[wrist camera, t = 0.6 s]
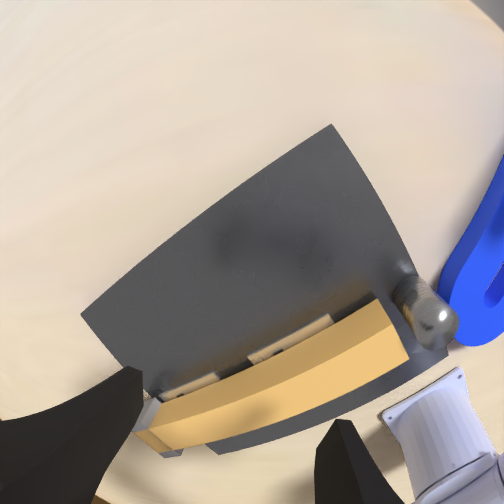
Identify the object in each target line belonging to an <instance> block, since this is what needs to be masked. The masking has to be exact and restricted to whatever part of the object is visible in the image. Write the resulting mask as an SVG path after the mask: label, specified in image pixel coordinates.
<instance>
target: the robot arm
mask: <svg viewBox="0 0 504 504" xmlns="http://www.w3.org/2000/svg"><path fill="white" fill-rule="evenodd" d="M143 406H144V401H143V373H142V371H140V370H138V369H135V368H133V367H130V366H126V367H124V368H123V369H121V370H120V371H118V372H117V373H115V374H114V375H112V376H110V377H109V378H107V379H106V380H104V381H103V382H101V383H99V384H98V385H96V386H94V387H92V388H91V389H89V390H87V391H86V392H84V393H82V394H80V395H78V396H76V397H74V398H72V399H70V400H68V401H66V402H64V403H62V404H60V405H57V406H55V407H53V408H50V409H47V410H45V411H42V412H39V413H36V414H32V415H29V416H25V417H21V418H17V419H11V420H5V421H0V504H91V502H92V500H93V497H94V495H95V493H96V490H97V488H98V486H99V484H100V482H101V480H102V477H103V475H104V473H105V471H106V470H107V468H108V466H109V465H110V463H111V461H112V460H113V458H114V457H115V455H116V454H117V452H118V451H119V449H120V448H121V446H122V445H123V443H124V442H125V440H126V438H127V437H128V435H129V434H130V432H131V431H132V429H133V427H134V426H135V424H136V422H137V419H138V417H139V415H140V413H141V411H142V409H143ZM382 418H383V419H384V421H385V422H386V424H387V425H388V427H389V428H390V430H391V431H392V433H393V434H394V436H395V437H396V439H397V440H398V442H399V443H400V445H401V447H402V451H403V454H404V458H405V461H406V465H407V469H408V473H409V477H410V481H411V485H412V489H413V493H414V498H415V502H413V503H412V504H504V453H503V454H501V455H498V454H497V451H496V449H495V447H494V445H493V443H492V441H491V439H490V438H489V436H488V434H487V432H486V430H485V428H484V426H483V424H482V422H481V421H480V419H479V417H478V415H477V413H476V412H475V410H474V408H473V406H472V405H471V403H470V399H469V394H468V389H467V385H466V380H465V376H464V372H463V369H462V368H461V367H457V368H455V369H454V370H452V371H451V372H450V373H448V374H447V375H445V376H444V377H442V378H440V379H439V380H437V381H436V382H434V383H433V384H431V385H429V386H428V387H426V388H425V389H423V390H421V391H420V392H418V393H416V394H414V395H413V396H411V397H409V398H407V399H406V400H404V401H402V402H400V403H398V404H396V405H394V406H393V407H391V408H389V409H387V410H385V411H384V412H383V413H382ZM314 483H315V504H405V503H404V502H403V501H402V500H401V499H400V497H399V496H398V495H397V494H396V493H395V492H394V490H393V489H392V488H391V486H390V485H389V484H388V482H387V481H386V479H385V478H384V476H383V475H382V473H381V472H380V470H379V469H378V467H377V465H376V464H375V462H374V460H373V459H372V457H371V455H370V454H369V452H368V450H367V448H366V447H365V445H364V443H363V441H362V439H361V438H360V436H359V434H358V432H357V430H356V428H355V427H354V425H353V423H352V421H351V420H343V419H335V421H334V423H333V424H332V426H331V427H330V429H329V430H328V432H327V433H326V435H325V437H324V438H323V440H322V441H321V442H320V444H319V445H318V447H317V448H316V457H315V468H314Z"/></svg>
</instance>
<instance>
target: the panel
mask: <svg viewBox="0 0 504 504" xmlns="http://www.w3.org/2000/svg"><path fill="white" fill-rule="evenodd" d="M376 299H378V300H379V302H380V304H381V305H382V307H383V309H384V310H385V312H386V314H387V315H388V317H389V319H390V321H391V322H392V324H393V326H394V328H395V330H396V332H397V334H398V336H399V338H400V340H401V342H402V344H403V346H404V348H405V350H406V353H407V355H408V357H409V360H407V361H405V362H404V363H402V364H400V365H399V366H397V367H395V368H393V369H392V370H390V371H388V372H386V373H385V374H383V375H381V376H379V377H377V378H375V379H374V380H372V381H370V382H368V383H366V384H364V385H362V386H360V387H358V388H356V389H354V390H352V391H350V392H348V393H346V394H344V395H342V396H340V397H337V398H335V399H333V400H331V401H329V402H326V403H324V404H322V405H319V406H317V407H315V408H312V409H310V410H308V411H305V412H303V413H300V414H298V415H295V416H292V417H290V418H287V419H284V420H282V421H279V422H276V423H273V424H270V425H267V426H264V427H261V428H258V429H255V430H252V431H249V432H246V433H242V434H239V435H236V436H232V437H228V438H225V439H221V440H217V441H213V442H209V443H205V445H207V446H208V447H209V448H210V449H212V450H213V451H214V452H216V453H217V454H218V455H221V454H225V453H229V452H234V451H238V450H242V449H245V448H249V447H253V446H256V445H260V444H263V443H267V442H270V441H273V440H276V439H280V438H283V437H286V436H289V435H292V434H294V433H297V432H300V431H303V430H306V429H308V428H311V427H314V426H316V425H319V424H321V423H324V422H326V421H329V420H331V419H333V418H336V417H338V416H340V415H343V414H345V413H347V412H349V411H352V410H354V409H356V408H358V407H360V406H362V405H364V404H366V403H368V402H370V401H372V400H374V399H376V398H378V397H380V396H382V395H384V394H386V393H388V392H390V391H391V390H393V389H395V388H397V387H399V386H401V385H402V384H404V383H406V382H407V381H409V380H411V379H413V378H414V377H416V376H418V375H419V374H421V373H422V372H424V371H426V370H427V369H429V368H430V367H432V366H433V365H435V364H437V363H438V362H440V361H441V360H443V359H444V358H445V357H447V356H448V351H447V348H446V345H447V344H448V343H449V342H450V341H451V340H452V339H453V338H454V336H455V335H456V333H457V330H458V327H459V317H458V314H457V313H456V312H455V311H454V310H453V309H452V308H451V307H450V306H449V305H448V304H447V303H446V302H445V301H444V300H443V299H442V298H441V297H440V296H439V295H438V294H437V293H436V292H435V291H434V290H433V289H432V288H431V287H430V286H429V285H428V284H427V283H426V282H425V281H424V280H423V279H422V278H421V277H420V276H419V275H418V273H417V271H416V269H415V266H414V264H413V262H412V260H411V258H410V256H409V254H408V251H407V249H406V247H405V245H404V243H403V241H402V239H401V237H400V235H399V233H398V231H397V229H396V228H395V226H394V224H393V222H392V220H391V218H390V216H389V214H388V213H387V211H386V209H385V207H384V205H383V204H382V202H381V200H380V198H379V196H378V195H377V193H376V191H375V190H374V188H373V186H372V185H371V183H370V181H369V180H368V178H367V176H366V175H365V173H364V171H363V170H362V168H361V167H360V165H359V163H358V162H357V160H356V159H355V157H354V156H353V154H352V153H351V151H350V150H349V148H348V147H347V145H346V144H345V142H344V141H343V139H342V138H341V136H340V135H339V133H338V132H337V131H336V129H335V128H334V126H333V125H332V124H330V125H328V126H327V127H325V128H324V129H322V130H321V131H319V132H317V133H316V134H314V135H313V136H311V137H310V138H308V139H307V140H305V141H304V142H302V143H301V144H299V145H298V146H296V147H295V148H293V149H292V150H290V151H289V152H287V153H286V154H284V155H283V156H281V157H280V158H278V159H277V160H275V161H274V162H272V163H271V164H269V165H268V166H266V167H265V168H264V169H262V170H261V171H259V172H258V173H256V174H255V175H254V176H252V177H251V178H249V179H248V180H247V181H245V182H244V183H242V184H241V185H240V186H238V187H237V188H235V189H234V190H233V191H231V192H230V193H228V194H227V195H226V196H224V197H223V198H222V199H220V200H219V201H218V202H216V203H215V204H214V205H212V206H211V207H210V208H208V209H207V210H206V211H204V212H203V213H202V214H200V215H199V216H198V217H196V218H195V219H194V220H192V221H191V222H190V223H188V224H187V225H186V226H185V227H183V228H182V229H181V230H179V231H178V232H177V233H176V234H174V235H173V236H172V237H171V238H169V239H168V240H167V241H166V242H164V243H163V244H162V245H161V246H159V247H158V248H157V249H156V250H154V251H153V252H152V253H151V254H149V255H148V256H147V257H146V258H145V259H143V260H142V261H141V262H140V263H138V264H137V265H136V266H135V267H134V268H132V269H131V270H130V271H129V272H128V273H127V274H125V275H124V276H123V277H122V278H121V279H119V280H118V281H117V282H116V283H115V284H114V285H112V286H111V287H110V288H109V289H108V290H107V291H106V292H104V293H103V294H102V295H101V296H100V297H99V298H98V299H96V300H95V301H94V302H93V303H92V304H91V305H90V306H89V307H88V308H86V309H85V310H84V311H83V312H82V313H81V314H80V315H81V316H82V317H83V319H84V320H85V321H86V323H87V324H88V325H89V327H90V328H91V329H92V330H93V332H94V333H95V334H96V336H97V337H98V338H99V339H100V340H101V342H102V343H103V344H104V345H105V347H106V348H107V349H108V350H109V351H110V352H111V354H112V355H113V356H114V357H115V358H116V359H117V361H118V362H119V363H120V364H121V365H122V366H123V367H126V366H130V367H133V368H135V369H138V370H140V371H142V373H143V389H144V390H145V391H146V392H147V393H148V394H149V395H150V396H151V397H152V398H154V397H155V398H156V399H157V400H158V401H159V402H160V403H161V404H162V403H165V402H168V401H170V400H173V399H176V398H179V397H181V396H184V395H186V394H189V393H192V392H194V391H197V390H199V389H202V388H204V387H206V386H209V385H211V384H214V383H216V382H218V381H221V380H223V379H225V378H228V377H230V376H232V375H235V374H237V373H239V372H241V371H244V370H246V369H248V368H250V367H252V366H254V365H257V364H259V363H261V362H263V361H265V360H267V359H269V358H271V357H273V356H275V355H277V354H279V353H281V352H283V351H285V350H287V349H289V348H291V347H293V346H295V345H297V344H299V343H301V342H303V341H305V340H306V339H308V338H310V337H312V336H314V335H316V334H318V333H319V332H321V331H323V330H325V329H327V328H328V327H330V326H332V325H334V324H336V323H337V322H339V321H341V320H342V319H344V318H346V317H348V316H349V315H351V314H353V313H354V312H356V311H358V310H359V309H361V308H363V307H364V306H366V305H368V304H369V303H371V302H372V301H374V300H376Z"/></svg>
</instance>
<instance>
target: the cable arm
mask: <svg viewBox="0 0 504 504" xmlns="http://www.w3.org/2000/svg"><path fill="white" fill-rule="evenodd" d="M407 360H409V357H408V355H407V353H406V350H405V348H404V346H403V344H402V342H401V340H400V338H399V336H398V334H397V332H396V330H395V328H394V326H393V324H392V322H391V321H390V319H389V317H388V315H387V314H386V312H385V310H384V309H383V307H382V305H381V304H380V302H379V300H378V299H376V300H374V301H372V302H371V303H369V304H368V305H366V306H364V307H363V308H361V309H359V310H358V311H356V312H354V313H353V314H351V315H349V316H348V317H346V318H344V319H342V320H341V321H339V322H337V323H336V324H334V325H332V326H330V327H328V328H327V329H325V330H323V331H321V332H319V333H318V334H316V335H314V336H312V337H310V338H308V339H306V340H305V341H303V342H301V343H299V344H297V345H295V346H293V347H291V348H289V349H287V350H285V351H283V352H281V353H279V354H277V355H275V356H273V357H271V358H269V359H267V360H265V361H263V362H261V363H259V364H257V365H254V366H252V367H250V368H248V369H246V370H244V371H241V372H239V373H237V374H235V375H232V376H230V377H228V378H225V379H223V380H221V381H218V382H216V383H214V384H211V385H209V386H206V387H204V388H202V389H199V390H197V391H194V392H192V393H189V394H186V395H184V396H181V397H179V398H176V399H173V400H170V401H168V402H165V403H162V404H161V403H160V402H159V401H158V400H157V399H156V398H155V397H154V398H151V399H149V400H146V401H144V406H143V409H142V411H141V413H140V415H139V417H138V419H137V422H136V424H135V426H134V427H133V429H132V432H133V433H134V434H136V435H137V436H138V437H139V438H140V439H141V440H143V441H144V442H145V443H146V444H147V445H149V446H150V447H151V448H152V449H154V450H155V451H156V452H157V453H159V454H160V455H161V456H163V457H164V458H169V457H175V456H181V454H182V451H183V449H184V448H187V447H192V446H196V445H201V444H205V443H209V442H213V441H217V440H221V439H225V438H228V437H232V436H236V435H239V434H242V433H246V432H249V431H252V430H255V429H258V428H261V427H264V426H267V425H270V424H273V423H276V422H279V421H282V420H284V419H287V418H290V417H292V416H295V415H298V414H300V413H303V412H305V411H308V410H310V409H312V408H315V407H317V406H319V405H322V404H324V403H326V402H329V401H331V400H333V399H335V398H337V397H340V396H342V395H344V394H346V393H348V392H350V391H352V390H354V389H356V388H358V387H360V386H362V385H364V384H366V383H368V382H370V381H372V380H374V379H375V378H377V377H379V376H381V375H383V374H385V373H386V372H388V371H390V370H392V369H393V368H395V367H397V366H399V365H400V364H402V363H404V362H405V361H407Z"/></svg>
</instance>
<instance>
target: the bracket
mask: <svg viewBox="0 0 504 504" xmlns="http://www.w3.org/2000/svg"><path fill="white" fill-rule="evenodd" d="M503 262H504V155H503V158H502V160H501V162H500V165H499V167H498V169H497V171H496V174H495V176H494V178H493V180H492V182H491V184H490V186H489V188H488V190H487V192H486V194H485V196H484V198H483V200H482V202H481V204H480V206H479V208H478V210H477V212H476V213H475V215H474V217H473V219H472V221H471V222H470V224H469V226H468V228H467V229H466V231H465V233H464V234H463V236H462V238H461V239H460V241H459V243H458V244H457V246H456V247H455V249H454V251H453V252H452V254H451V255H450V257H449V259H448V260H447V262H446V264H445V266H444V269H443V271H442V274H441V277H440V280H439V284H438V290H437V294H438V295H439V296H440V297H441V298H442V299H443V300H444V301H445V302H446V303H447V304H448V305H449V306H450V307H451V308H452V309H453V310H454V311H455V312H456V313H457V314H458V317H459V327H458V330H457V333H456V335H455V336H454V338H455V339H456V340H457V341H458V342H460V343H461V344H463V345H466V346H480V345H483V344H486V343H488V342H490V341H492V340H493V339H495V338H496V337H498V336H499V335H500V334H501V333H503V332H504V264H503ZM502 264H503V266H502V267H501V265H502ZM500 267H501V269H500ZM499 269H500V271H499V272H498V270H499ZM497 272H498V274H497ZM496 274H497V276H496V277H495V275H496ZM494 277H495V279H494ZM493 279H494V280H493ZM492 280H493V282H492ZM491 282H492V284H491V285H490V283H491ZM489 285H490V287H489V288H488V286H489ZM487 288H488V290H487ZM486 290H487V291H486ZM485 292H486V293H485Z"/></svg>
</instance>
